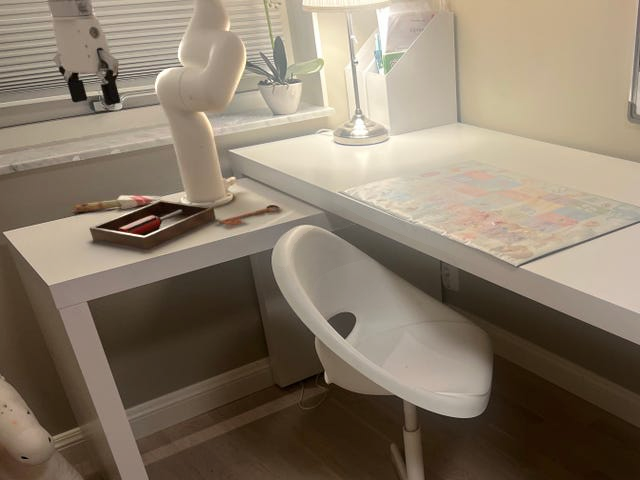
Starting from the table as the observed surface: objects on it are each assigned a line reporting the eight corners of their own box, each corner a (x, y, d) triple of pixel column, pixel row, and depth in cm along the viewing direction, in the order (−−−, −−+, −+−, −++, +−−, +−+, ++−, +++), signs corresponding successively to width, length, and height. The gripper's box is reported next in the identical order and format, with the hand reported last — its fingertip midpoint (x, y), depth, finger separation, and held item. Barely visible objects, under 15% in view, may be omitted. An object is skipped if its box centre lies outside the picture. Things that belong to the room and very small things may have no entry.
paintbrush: (158, 194, 180) (72, 205, 177) (161, 205, 181) (76, 216, 178) (160, 189, 183) (76, 200, 180) (164, 200, 184) (80, 211, 181)
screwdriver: (178, 217, 173) (174, 204, 171) (188, 218, 171) (184, 204, 170) (120, 242, 160) (115, 228, 158) (130, 242, 158) (125, 228, 157)
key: (227, 229, 166) (286, 213, 174) (226, 226, 165) (286, 210, 174) (216, 221, 170) (275, 206, 178) (215, 218, 169) (274, 202, 177)
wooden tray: (164, 212, 177) (160, 199, 175) (216, 220, 171) (213, 207, 169) (93, 241, 161) (89, 227, 159) (148, 251, 155) (144, 237, 153)
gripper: (119, 9, 141) (141, 101, 149) (58, 8, 147) (83, 97, 156) (86, 12, 135) (111, 108, 143) (24, 11, 141) (52, 103, 150)
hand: (96, 102), depth 149 cm, fingers open, 9 cm apart
